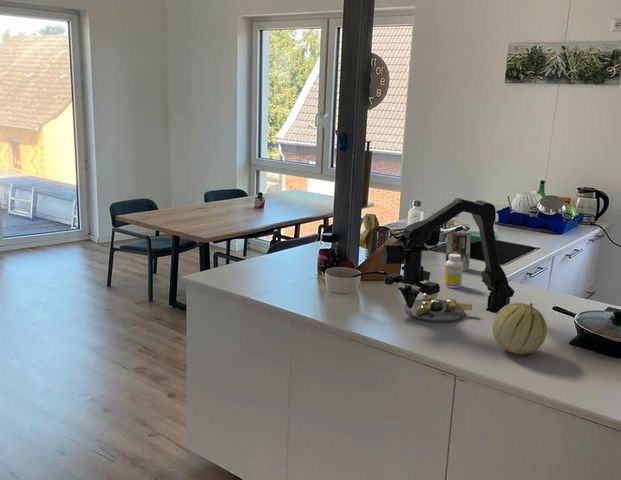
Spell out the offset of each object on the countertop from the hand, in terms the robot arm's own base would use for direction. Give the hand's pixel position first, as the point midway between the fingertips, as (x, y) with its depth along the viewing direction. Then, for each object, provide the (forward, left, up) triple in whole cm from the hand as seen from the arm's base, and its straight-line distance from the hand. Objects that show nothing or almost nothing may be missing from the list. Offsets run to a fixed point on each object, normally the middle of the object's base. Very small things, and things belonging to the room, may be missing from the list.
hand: (410, 307), depth 195 cm
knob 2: (+1, -14, -1) cm, 15 cm away
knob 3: (-11, -13, -1) cm, 17 cm away
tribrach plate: (-4, -9, -3) cm, 10 cm away
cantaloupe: (-39, +3, -3) cm, 39 cm away
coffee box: (+19, -66, -3) cm, 69 cm away
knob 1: (-4, -1, -1) cm, 4 cm away
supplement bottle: (+7, -41, -3) cm, 42 cm away
